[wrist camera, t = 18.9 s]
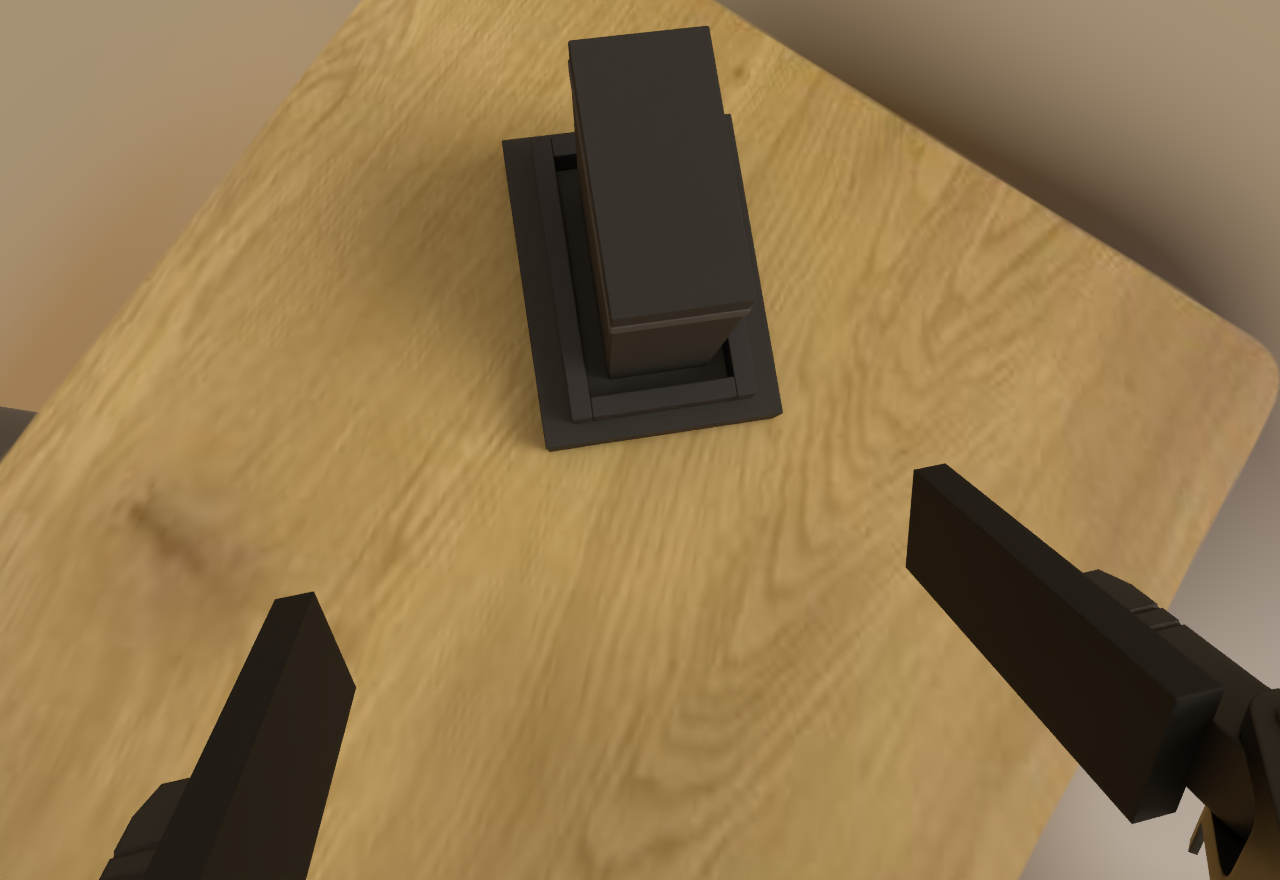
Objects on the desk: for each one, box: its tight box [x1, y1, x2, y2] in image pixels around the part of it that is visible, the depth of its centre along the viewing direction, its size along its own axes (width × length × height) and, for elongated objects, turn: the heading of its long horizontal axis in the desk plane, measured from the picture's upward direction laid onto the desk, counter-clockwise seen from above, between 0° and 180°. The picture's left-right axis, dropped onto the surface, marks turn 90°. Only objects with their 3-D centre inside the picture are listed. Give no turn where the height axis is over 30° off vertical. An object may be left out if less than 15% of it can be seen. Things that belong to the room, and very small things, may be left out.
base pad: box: [502, 114, 783, 452], centre depth 34 cm, size 12×16×4 cm
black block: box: [568, 26, 756, 379], centre depth 28 cm, size 5×10×11 cm, turn 9°
